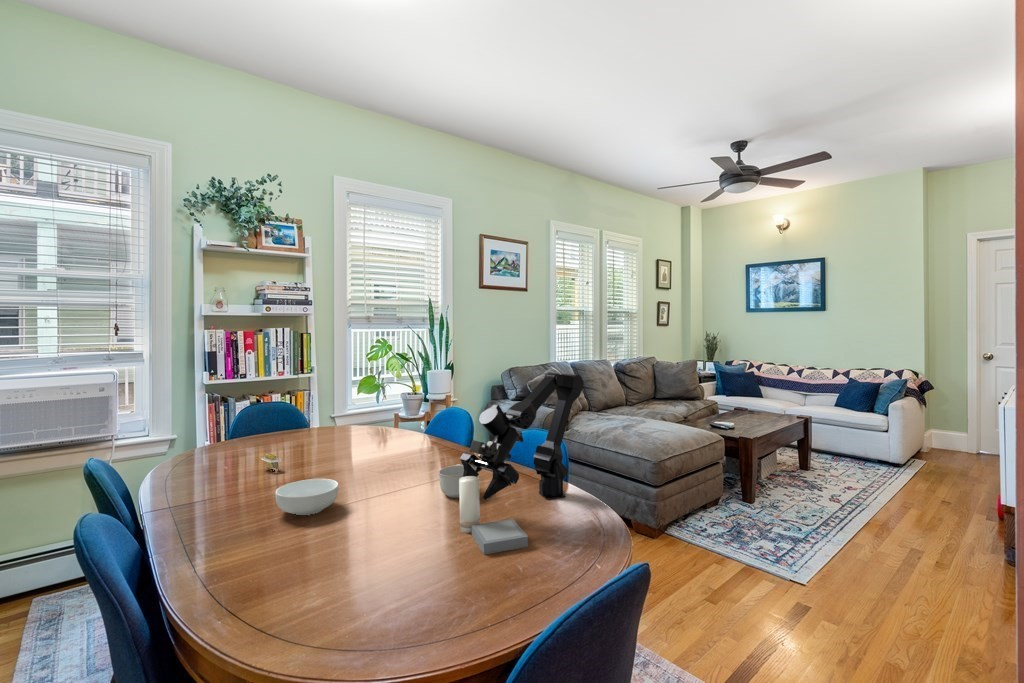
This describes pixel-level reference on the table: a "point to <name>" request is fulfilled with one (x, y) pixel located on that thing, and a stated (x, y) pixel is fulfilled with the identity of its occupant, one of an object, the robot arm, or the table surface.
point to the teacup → (451, 480)
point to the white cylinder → (469, 503)
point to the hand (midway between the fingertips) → (472, 494)
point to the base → (499, 536)
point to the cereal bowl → (307, 496)
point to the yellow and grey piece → (271, 460)
